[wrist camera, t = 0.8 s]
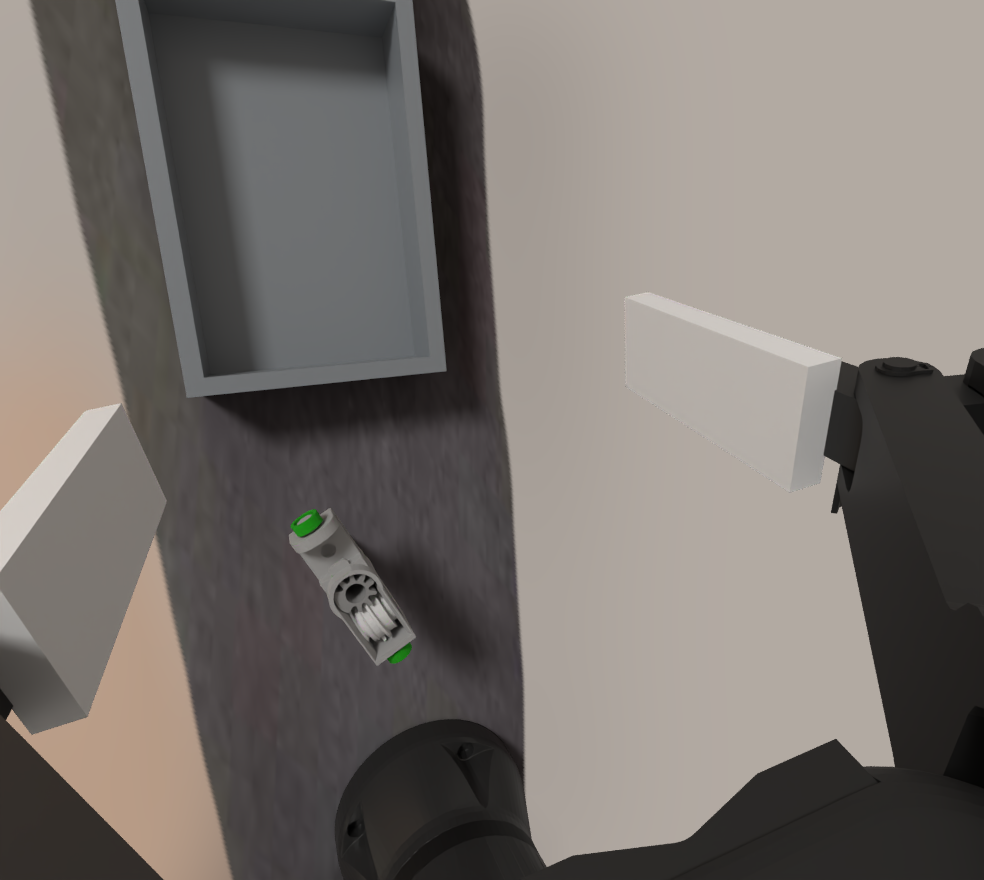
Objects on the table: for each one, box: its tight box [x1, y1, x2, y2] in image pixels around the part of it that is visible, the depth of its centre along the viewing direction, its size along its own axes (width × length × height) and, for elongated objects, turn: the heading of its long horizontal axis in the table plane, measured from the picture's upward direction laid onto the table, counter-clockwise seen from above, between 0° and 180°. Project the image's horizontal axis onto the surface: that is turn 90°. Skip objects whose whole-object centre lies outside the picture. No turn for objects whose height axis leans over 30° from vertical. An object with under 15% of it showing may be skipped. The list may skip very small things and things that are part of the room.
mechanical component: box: [289, 508, 416, 666], centre depth 36 cm, size 3×10×10 cm, turn 29°
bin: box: [115, 0, 447, 398], centre depth 34 cm, size 22×15×5 cm
